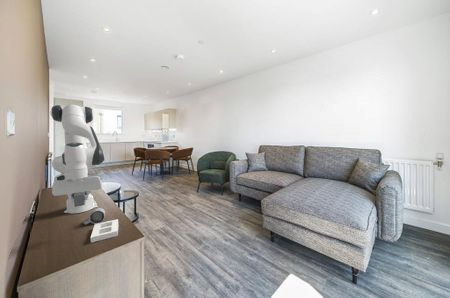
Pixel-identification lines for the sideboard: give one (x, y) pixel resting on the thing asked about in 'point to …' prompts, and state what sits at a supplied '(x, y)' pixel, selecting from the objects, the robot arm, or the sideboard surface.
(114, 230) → the outlet plate
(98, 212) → the ceramic mug
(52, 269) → the sideboard surface
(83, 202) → the plug
